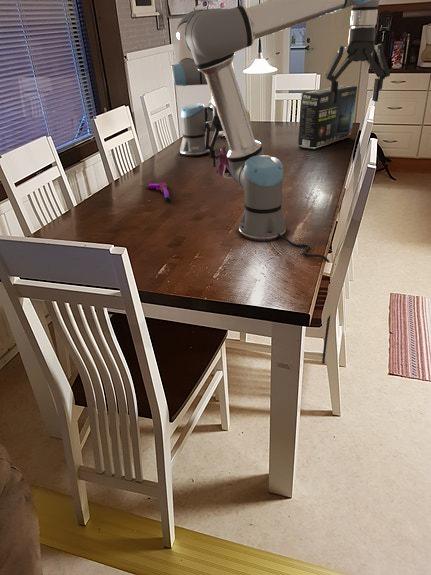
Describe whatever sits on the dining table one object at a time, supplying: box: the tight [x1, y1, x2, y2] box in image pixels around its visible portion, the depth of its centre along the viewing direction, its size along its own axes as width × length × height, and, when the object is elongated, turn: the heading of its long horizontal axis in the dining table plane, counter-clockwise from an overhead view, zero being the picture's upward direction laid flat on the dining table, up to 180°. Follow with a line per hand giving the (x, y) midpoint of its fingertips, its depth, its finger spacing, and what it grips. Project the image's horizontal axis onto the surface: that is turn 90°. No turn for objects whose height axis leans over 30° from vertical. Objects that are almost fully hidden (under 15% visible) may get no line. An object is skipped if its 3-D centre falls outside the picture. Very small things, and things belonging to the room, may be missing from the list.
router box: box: [297, 84, 358, 151], centre depth 238 cm, size 36×11×27 cm, turn 134°
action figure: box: [215, 145, 233, 180], centre depth 183 cm, size 8×9×12 cm
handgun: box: [147, 182, 171, 203], centre depth 184 cm, size 21×8×2 cm, turn 11°
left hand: (224, 165), depth 184 cm, fingers closed on action figure, 7 cm apart
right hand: (354, 102), depth 149 cm, fingers open, 13 cm apart
